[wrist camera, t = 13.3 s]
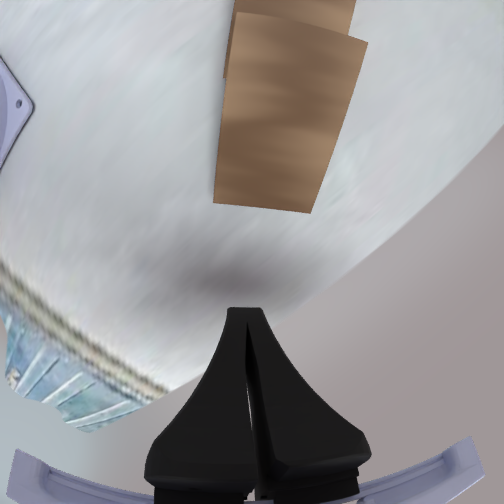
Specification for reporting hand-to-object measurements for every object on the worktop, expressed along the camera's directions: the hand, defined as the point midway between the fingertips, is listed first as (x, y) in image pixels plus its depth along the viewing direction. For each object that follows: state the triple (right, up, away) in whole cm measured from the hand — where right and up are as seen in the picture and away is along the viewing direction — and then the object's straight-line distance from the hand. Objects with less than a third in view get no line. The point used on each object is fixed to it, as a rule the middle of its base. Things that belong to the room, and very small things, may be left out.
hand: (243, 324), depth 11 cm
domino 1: (+1, +6, +1) cm, 6 cm away
